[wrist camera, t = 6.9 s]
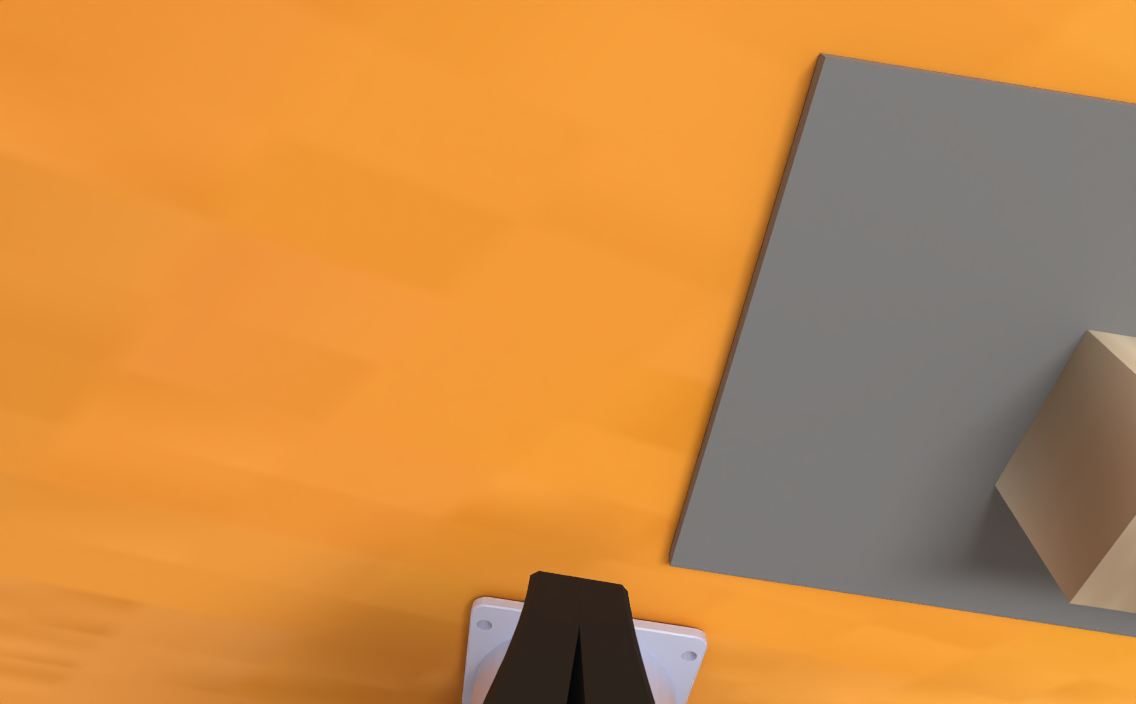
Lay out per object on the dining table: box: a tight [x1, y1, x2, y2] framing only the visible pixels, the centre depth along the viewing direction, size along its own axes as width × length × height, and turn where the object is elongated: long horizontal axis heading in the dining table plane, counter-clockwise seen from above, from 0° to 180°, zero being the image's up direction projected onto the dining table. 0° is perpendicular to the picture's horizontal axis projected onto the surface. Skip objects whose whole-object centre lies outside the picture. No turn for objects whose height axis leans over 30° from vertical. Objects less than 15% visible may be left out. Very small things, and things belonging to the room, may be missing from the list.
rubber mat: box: [669, 53, 1136, 637], centre depth 19 cm, size 15×18×1 cm
